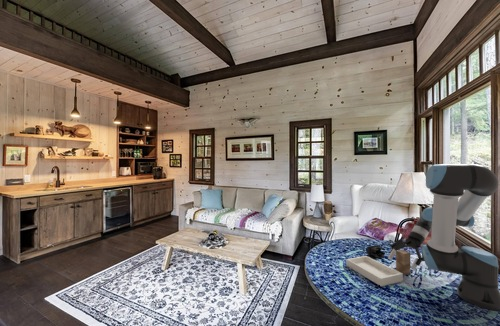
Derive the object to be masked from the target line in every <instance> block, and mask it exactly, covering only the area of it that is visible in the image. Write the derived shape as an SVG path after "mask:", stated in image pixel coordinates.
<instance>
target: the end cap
mask: <svg viewBox="0 0 500 326" xmlns="http://www.w3.org/2000/svg"><path fill="white" fill-rule="evenodd" d="M365 251H366V254H367V255H368V257H370V258H372V257H373V258H372V259H374V258H375V259H374V260H377V259H381V258H385V255H386V253H385V251H386V248H385V247H382V246H381V245H380V244H376V245H371V246H369V245H368V246H367V247H366V248H365Z"/></svg>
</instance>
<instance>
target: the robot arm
mask: <svg viewBox="0 0 500 326" xmlns="http://www.w3.org/2000/svg"><path fill="white" fill-rule="evenodd" d="M425 186H426V188H427V189H429V192H430V193H431V194H432V195H433V201H432V202H433V203H432V207H431V206H430V207H426V208H424V209H423V211H421V214H420V216H419V218H418V220H417V221H416V223H415V224H414V226H413V228H412V229H411V231H410V232H409V234H408V236H407V237H404V236H401V237H400V238H399V239H398V240H396V241H395V242H393V243H391V244H390V245H389V247H390V248H391V249H390V250H389V255H388V256H387V257H388V259H389V260H390V261H392V260H393V258H394V257H395V256H396V250H403V249H404V248H409V249H412V250H415V252H416V255H417V257H415V259H414V260H413V262H412V263H411V269H412V270H413V271H415V270H416V269H417V268H418V266H420V265H421V263H422V262H424V263H425V265H426V267H427V268H428V269H429V270H433V271H437V272H443V273H449V274H454V275H458V276H459V275H460V276H461V279H460V281H459V284H458V285H457V288H456V294H457V296H458V297H460V298H461V299H462V300H464V301H466V302H467V303H469V304H471V305H474V306H477V307H479V308H482V309H486V310H490V311H491V310H492V311H500V289H499V268H500V266H499V261H498V257H497V256H496V255H494V254H493V253H491V252H489V251H486V250H485V249H480V248H477V247H473V246H468V245H463V246H461V248H459V247H458V245H456V243H455V241H456V231H457V230H456V229H457V227H463V228H464V227H465V228H466V227H467V228H472V227H473V226H474V225H475V217H474V214H475V213H476V212H477V210H478V209H479V208H480V207H481V206H482V204H483V203H484V202H485V201H486V199H487V197H490V196H493V195H494V194H495V193H496V192H497V190H498V188H499V179H498V177H497V175H496V174H495V172H493V171H492V170H491V169H489V167H488V168H487V167H486V166H484V165H480V164H475V163H474V164H473V163H469V164H468V163H467V164H463V163H462V164H461V163H460V164H458V163H457V164H456V163H455V164H453V163H442V164H432V165H431V166H429V167H428V169H427V171H426V173H425ZM429 233H431V235H430V236H431V237H430V238H429V239H427V237H428V236H429ZM426 239H427V240H426ZM425 240H426V243H424V242H425ZM420 247H421V252H420Z"/></svg>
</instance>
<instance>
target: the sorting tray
mask: <svg viewBox="0 0 500 326" xmlns="http://www.w3.org/2000/svg"><path fill="white" fill-rule="evenodd" d="M345 265H346V267H349V268H350V269H351V270H353V271H355V272H356V273H357V274H359V275H362V276H363V277H365V279H368V280H370V281H372V282H373V283H374V284H377V285H378V286H379V285H380V287H384V286H389V285H392V284H396V283H400V282H403V281H404V274H403V273H401V272H398V271H396V269H394V268H392V267H390V266H388V265H386V264H384V263H382V262H380V261H378V260H377V259H374V258H372V257H370V256H369V255H368V256H367V255H364V256H358V257H351V258H347V259H346V264H345Z"/></svg>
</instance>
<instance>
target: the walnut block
mask: <svg viewBox="0 0 500 326" xmlns="http://www.w3.org/2000/svg"><path fill="white" fill-rule="evenodd" d="M411 266H412V263H411V252H409V251H406V250H404V249H399V250H396V254H395V270H396V271H398V272H401V273H403V276H404V275H410V274H411V269H412V268H411Z"/></svg>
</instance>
